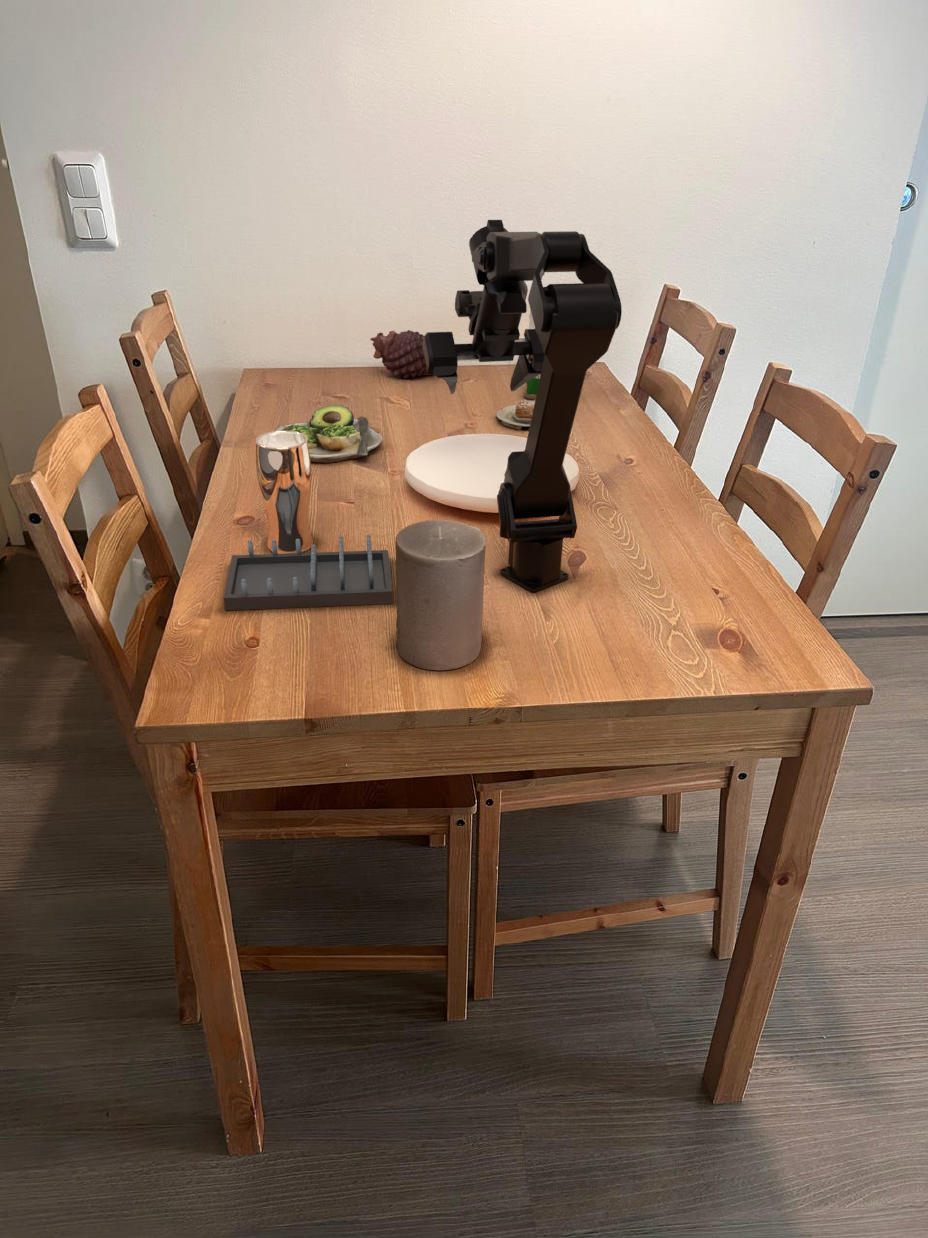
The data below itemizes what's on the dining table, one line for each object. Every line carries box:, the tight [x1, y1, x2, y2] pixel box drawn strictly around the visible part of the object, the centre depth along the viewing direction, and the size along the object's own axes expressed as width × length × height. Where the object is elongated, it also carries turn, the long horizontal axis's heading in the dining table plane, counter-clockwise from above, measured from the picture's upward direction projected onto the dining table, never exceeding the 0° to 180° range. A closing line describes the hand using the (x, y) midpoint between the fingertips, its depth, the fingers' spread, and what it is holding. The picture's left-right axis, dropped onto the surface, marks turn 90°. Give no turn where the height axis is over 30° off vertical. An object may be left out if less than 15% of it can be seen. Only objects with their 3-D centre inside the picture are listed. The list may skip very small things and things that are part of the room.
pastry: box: [496, 394, 536, 431], centre depth 170 cm, size 12×12×5 cm
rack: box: [223, 534, 394, 612], centre depth 115 cm, size 20×11×5 cm, turn 97°
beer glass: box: [255, 430, 314, 554], centre depth 122 cm, size 7×7×15 cm
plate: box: [404, 433, 580, 514], centre depth 142 cm, size 28×6×27 cm
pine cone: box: [370, 329, 431, 379], centre depth 192 cm, size 18×10×10 cm
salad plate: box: [275, 404, 383, 464], centre depth 156 cm, size 19×18×5 cm
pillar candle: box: [395, 519, 487, 671], centre depth 101 cm, size 10×10×15 cm
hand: (481, 390), depth 138 cm, fingers open, 9 cm apart
